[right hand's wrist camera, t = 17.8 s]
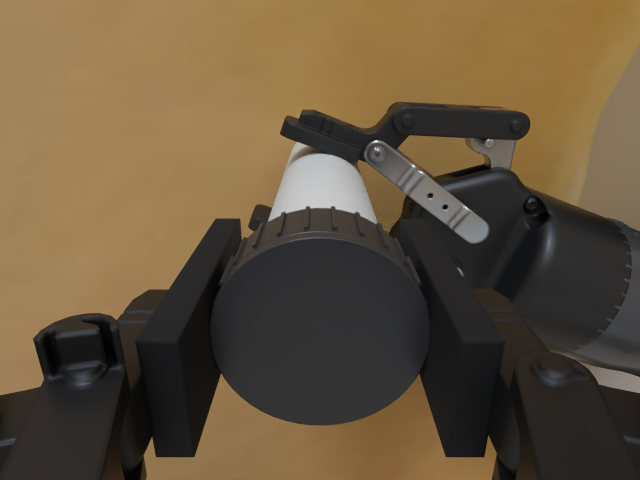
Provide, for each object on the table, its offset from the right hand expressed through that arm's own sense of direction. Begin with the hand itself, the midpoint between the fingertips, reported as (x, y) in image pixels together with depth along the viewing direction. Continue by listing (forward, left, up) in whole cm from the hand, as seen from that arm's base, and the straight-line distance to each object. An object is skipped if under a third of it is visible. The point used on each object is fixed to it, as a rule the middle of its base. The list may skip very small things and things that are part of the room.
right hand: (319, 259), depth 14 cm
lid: (0, 0, +4) cm, 4 cm away
